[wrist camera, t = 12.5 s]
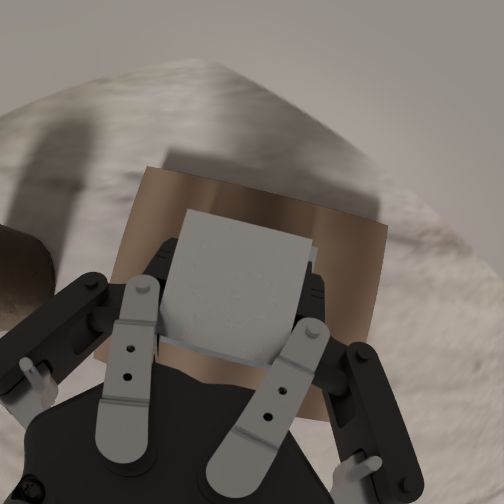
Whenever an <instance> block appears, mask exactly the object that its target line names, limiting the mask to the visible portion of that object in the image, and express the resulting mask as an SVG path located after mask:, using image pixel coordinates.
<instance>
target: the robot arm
mask: <svg viewBox="0 0 504 504" xmlns="http://www.w3.org/2000/svg"><path fill="white" fill-rule="evenodd" d="M177 243H178V239H177V238H173V237H172V238H170V239H168V240H167V241H165V242H163V244H162V245H161V247H160V248H159V250H158V251H157V252H156V254H155V256H154V257H153V258H152V260H151V261H150V263H149V264H148V266H147V267H146V269H145V270H144V272H143V273H142V275H137V276H134V277H132V278H131V279H129V280H128V282H127V283H126V284H113V283H108V281H107V278H106V277H105V276H104V275H103V274H101V273H98V272H88V273H85V274H83V275H81V276H80V277H79V278H77V279H76V280H75V281H73V282H72V283H70V284H69V285H68V286H66V287H65V288H64V289H62V290H61V291H60V292H58V293H57V294H56V295H54V296H53V297H52V298H50V299H49V300H48V301H47V302H45V303H44V304H43V305H41V306H40V307H39V308H37V309H36V310H35V311H34V312H32V313H31V314H30V315H29V316H27V317H26V318H25V319H24V320H22V321H21V322H20V323H19V324H17V325H16V326H15V327H14V328H12V329H11V330H10V331H9V332H8V333H6V334H5V335H4V336H3V337H2V338H0V404H1V405H2V406H3V407H5V408H6V409H7V410H8V411H9V413H10V414H12V415H13V416H14V417H15V418H16V419H17V421H18V422H19V423H20V424H21V425H22V426H23V427H24V429H25V430H26V432H25V437H24V451H25V462H24V470H23V475H22V478H21V480H20V482H19V483H18V485H17V486H16V487H15V489H14V490H13V491H12V492H11V494H10V495H9V496H8V497H7V499H6V500H5V501H4V503H3V504H409V503H412V502H414V501H416V500H417V499H418V498H419V497H420V496H421V494H422V493H423V490H424V479H423V475H422V472H421V469H420V466H419V463H418V460H417V457H416V454H415V451H414V449H413V446H412V443H411V440H410V437H409V434H408V432H407V429H406V426H405V423H404V421H403V418H402V415H401V413H400V410H399V407H398V405H397V402H396V400H395V397H394V394H393V392H392V389H391V387H390V384H389V382H388V379H387V377H386V374H385V372H384V369H383V367H382V365H381V362H380V360H379V357H378V355H377V353H376V351H375V350H374V349H373V348H372V347H371V346H370V345H368V344H366V343H364V342H353V343H351V344H350V345H349V346H347V345H345V344H343V343H341V342H339V341H337V340H336V339H334V338H333V337H332V336H331V335H330V331H329V329H328V327H327V326H326V325H325V283H324V281H323V279H322V277H321V276H320V275H318V274H314V273H312V261H308V264H307V268H306V273H305V277H304V281H303V286H302V290H301V294H300V298H299V303H298V307H297V311H296V315H295V319H294V323H293V327H292V331H291V335H290V337H289V339H288V341H287V342H286V344H285V346H284V348H283V349H282V351H281V353H280V354H279V356H277V357H276V359H275V361H274V362H273V364H272V366H271V367H270V369H269V371H268V372H267V374H266V376H265V377H264V379H263V381H262V382H261V384H260V385H259V387H258V389H257V390H254V389H249V388H245V387H241V386H237V385H233V384H208V383H202V382H200V381H198V380H196V379H195V378H193V377H191V376H189V375H187V374H186V373H184V372H182V371H180V370H179V369H175V368H172V367H169V366H166V365H163V364H160V363H159V352H160V336H161V335H158V334H157V322H158V313H159V309H160V305H161V301H162V297H163V293H164V290H165V286H166V282H167V278H168V275H169V271H170V267H171V264H172V260H173V257H174V253H175V249H176V246H177ZM110 335H112V337H111V343H110V348H109V354H108V360H107V367H106V373H105V380H104V382H103V383H101V384H99V385H97V386H95V387H93V388H91V389H89V390H87V391H85V392H83V393H81V394H79V395H76V396H74V397H72V398H70V399H68V400H66V401H64V402H62V403H60V404H58V405H56V406H53V407H51V405H53V404H54V403H55V399H56V397H57V395H58V385H59V384H60V383H61V382H62V381H63V380H64V379H65V378H66V377H67V376H68V375H69V374H70V373H71V372H72V371H73V370H74V369H75V368H76V367H77V366H78V365H80V364H81V363H82V362H83V361H84V360H85V359H86V358H87V357H88V356H89V355H90V354H91V353H92V352H93V351H94V350H95V349H97V348H98V347H99V346H100V345H101V344H102V343H103V342H104V341H105V340H106V339H107V338H108V337H109V336H110ZM310 384H313V385H315V386H317V387H319V388H321V389H322V394H323V397H324V401H325V405H326V408H327V412H328V416H329V419H330V423H331V427H332V431H333V435H334V438H335V442H336V446H337V450H338V454H339V458H340V462H341V463H340V464H339V465H338V466H337V467H336V468H335V470H334V472H333V486H332V489H331V491H330V493H329V492H328V490H327V489H326V487H325V486H324V484H323V483H322V481H321V480H320V478H319V477H318V475H317V474H316V472H315V471H314V469H313V467H312V466H311V464H310V463H309V461H308V460H307V458H306V456H305V455H304V453H303V452H302V450H301V448H300V447H299V445H298V444H297V442H296V440H295V439H294V437H293V436H292V434H291V432H290V431H289V428H290V426H291V424H292V422H293V420H294V418H295V416H296V414H297V412H298V410H299V408H300V406H301V404H302V402H303V399H304V397H305V395H306V393H307V391H308V389H309V387H310Z"/></svg>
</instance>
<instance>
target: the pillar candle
mask: <svg viewBox="0 0 504 504" xmlns="http://www.w3.org/2000/svg"><path fill="white" fill-rule="evenodd" d="M54 282H55V277H54V269H53V265H52V259H51V256H50V253H49V252H48V250H46V248H45V247H44V246H43V244H42V242H41V241H40V240H38V239H37V238H35V237H33V236H31V235H28V234H25V233H22V232H20V231H17V230H14V229H12V228H9V227H7V226H4V225H1V224H0V331H10V330H11V329H12V328H14V327H15V326H16V325H17V324H19V323H20V322H21V321H22V320H24V319H25V318H26V317H27V316H29V315H30V314H31V313H32V312H34V311H35V310H36V309H37V308H39V307H40V306H41V305H43V304H44V303H45V302H47V301H48V300H49V299H50V298H52V297H53V293H54V288H55V287H54V284H55V283H54Z"/></svg>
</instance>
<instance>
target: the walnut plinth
mask: <svg viewBox="0 0 504 504" xmlns="http://www.w3.org/2000/svg"><path fill="white" fill-rule="evenodd" d="M187 209H191V210H195V211H200V212H204V213H208V214H212V215H217V216H221V217H225V218H229V219H233V220H237V221H241V222H245V223H249V224H253V225H257V226H261V227H265V228H269V229H273V230H277V231H281V232H285V233H289V234H293V235H297V236H301V237H305V238H309V239H312V240H313V241H312V246H314V247H317V248H318V251H317V256H316V261H315V265H314V270H313V273H314V274H318V275H320V276H321V277H322V279H323V281H324V283H325V325H326V326H327V327H328V329H329V331H330V335H331V336H332V337H333V338H334V339H336V340H337V341H339V342H341V343H343V344H345V345H347V346H349V345H350V344H351V343H353V342H364V343H366V340H367V336H368V332H369V328H370V324H371V319H372V315H373V310H374V305H375V301H376V296H377V291H378V286H379V280H380V275H381V269H382V263H383V258H384V251H385V245H386V238H387V231H388V225H385V224H381V223H378V222H375V221H371V220H368V219H365V218H361V217H358V216H354V215H351V214H347V213H344V212H340V211H337V210H333V209H330V208H326V207H322V206H319V205H315V204H311V203H308V202H304V201H300V200H296V199H292V198H288V197H285V196H281V195H277V194H273V193H269V192H265V191H260V190H256V189H252V188H248V187H244V186H239V185H235V184H231V183H226V182H222V181H217V180H213V179H208V178H204V177H199V176H194V175H189V174H185V173H180V172H175V171H170V170H165V169H160V168H154V167H149V166H147V168H146V170H145V173H144V176H143V178H142V181H141V184H140V187H139V189H138V192H137V195H136V198H135V201H134V204H133V207H132V210H131V213H130V216H129V219H128V222H127V225H126V228H125V231H124V235H123V238H122V241H121V245H120V248H119V251H118V255H117V258H116V262H115V266H114V269H113V273H112V277H111V280H110V283H113V284H126V283H127V282H128V280H129V279H131V278H132V277H134V276H137V275H142V273H143V272H144V270H145V269H146V267H147V266H148V264H149V263H150V261H151V260H152V258H153V257H154V256H155V254H156V252H157V251H158V250H159V248H160V247H161V245H162V244H163V242H165V241H167V240H168V239H170V238H172V237H173V238H177V239H179V236H180V232H181V229H182V226H183V222H184V219H185V216H186V213H187ZM111 337H112V335H110V336H109V337H108V338H107V339H106V340H105V341H104V342H103V343H102V344H101V345H100V346H99V347H98V348H97V349H95V352H94V358H95V359H97V360H99V361H102V362H104V363H107V360H108V354H109V348H110V343H111ZM160 339H161V336H160ZM159 363H160V364H163V365H166V366H169V367H172V368H175V369H179V370H180V371H182V372H184V373H186V374H187V375H189V376H191V377H193V378H195V379H196V380H198V381H200V382H202V383H208V384H233V385H237V386H241V387H245V388H249V389H254V390H257V389H258V387H259V385H260V384H261V382H262V381H263V379H264V377H265V376H266V374H267V372H268V371H269V370H266V369H261V368H257V367H253V366H249V365H244V364H240V363H236V362H232V361H228V360H225V359H221V358H217V357H213V356H210V355H206V354H202V353H199V352H195V351H192V350H188V349H185V348H182V347H178V346H175V345H172V344H169V343H165V342H162V341H160V352H159ZM295 417H300V418H306V419H312V420H319V421H326V422H330V419H329V416H328V412H327V408H326V405H325V401H324V397H323V394H322V389H321V388H319V387H317V386H315V385H313V384H310V387H309V389H308V391H307V393H306V395H305V397H304V399H303V402H302V404H301V406H300V408H299V410H298V412H297V414H296V416H295Z"/></svg>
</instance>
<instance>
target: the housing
mask: <svg viewBox="0 0 504 504" xmlns="http://www.w3.org/2000/svg"><path fill="white" fill-rule="evenodd" d="M312 241H313V240H312V239H309V238H305V237H301V236H297V235H293V234H289V233H285V232H281V231H277V230H273V229H269V228H265V227H261V226H257V225H253V224H249V223H245V222H241V221H237V220H233V219H229V218H225V217H221V216H217V215H212V214H208V213H204V212H200V211H195V210H191V209H187V213H186V216H185V219H184V222H183V226H182V229H181V232H180V236H179V239H178V243H177V246H176V249H175V253H174V257H173V260H172V264H171V267H170V271H169V275H168V278H167V282H166V286H165V290H164V293H163V297H162V301H161V305H160V309H159V313H158V322H157V334H158V335H161V339H160V341H162V342H165V343H169V344H172V345H175V346H178V347H182V348H185V349H188V350H192V351H195V352H199V353H202V354H206V355H210V356H213V357H217V358H221V359H225V360H228V361H232V362H236V363H240V364H244V365H249V366H253V367H257V368H261V369H266V370H269V369H270V367H271V366H272V364H273V362H274V361H275V359H276V357H277V356H279V354H280V353H281V351H282V349H283V348H284V346H285V344H286V342H287V341H288V339H289V337H290V335H291V331H292V327H293V323H294V319H295V315H296V311H297V307H298V303H299V298H300V294H301V290H302V286H303V281H304V277H305V273H306V268H307V264H308V261H312V273H313V270H314V265H315V261H316V256H317V251H318V248H317V247H314V246H312Z"/></svg>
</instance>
